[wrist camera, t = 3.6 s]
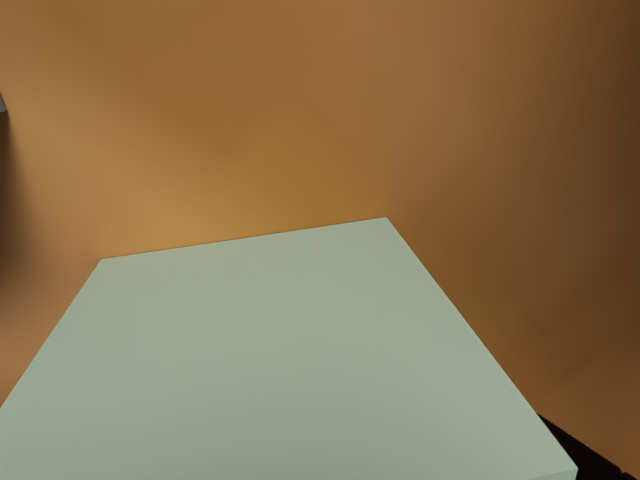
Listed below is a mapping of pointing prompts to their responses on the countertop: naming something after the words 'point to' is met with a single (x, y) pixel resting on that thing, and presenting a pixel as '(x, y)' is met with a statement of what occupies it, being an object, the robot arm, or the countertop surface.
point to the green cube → (271, 372)
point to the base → (2, 106)
